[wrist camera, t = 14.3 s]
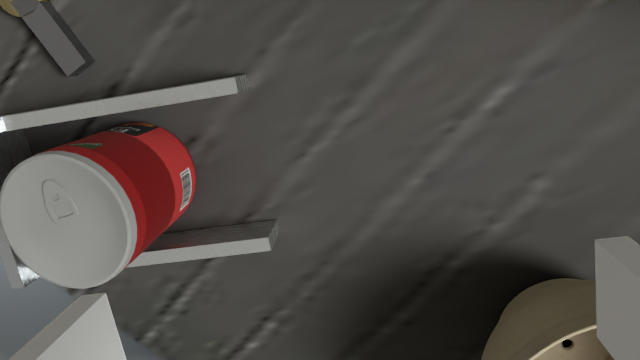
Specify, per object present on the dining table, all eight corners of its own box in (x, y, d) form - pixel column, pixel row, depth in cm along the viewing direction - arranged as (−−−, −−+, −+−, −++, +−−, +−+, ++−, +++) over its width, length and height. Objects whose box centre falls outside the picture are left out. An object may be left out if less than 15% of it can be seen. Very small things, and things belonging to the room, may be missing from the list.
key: (-3, -13, 34) (-15, -15, 33) (28, -42, 34) (16, -45, 32) (70, 80, 36) (60, 82, 35) (101, 55, 35) (92, 55, 34)
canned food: (154, 99, 35) (63, 125, 25) (221, 187, 37) (161, 246, 26) (80, 156, 37) (-33, 202, 27) (147, 238, 39) (63, 313, 28)
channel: (6, 114, 37) (-48, 125, 32) (248, 73, 34) (228, 79, 29) (55, 259, 40) (12, 288, 35) (279, 231, 37) (266, 259, 32)
